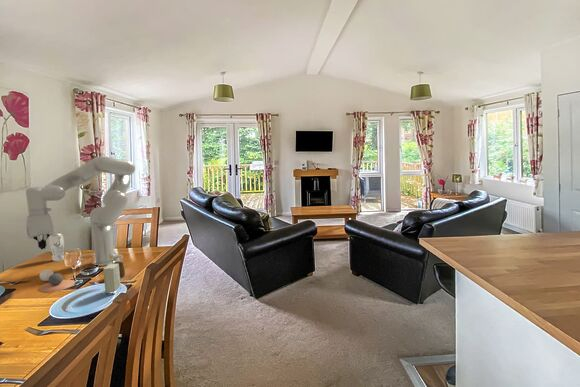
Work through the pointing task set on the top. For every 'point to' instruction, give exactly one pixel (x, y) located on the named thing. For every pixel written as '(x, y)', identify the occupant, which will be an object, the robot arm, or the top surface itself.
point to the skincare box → (111, 277)
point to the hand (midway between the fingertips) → (42, 248)
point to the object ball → (55, 279)
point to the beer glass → (57, 246)
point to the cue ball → (45, 275)
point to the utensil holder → (121, 267)
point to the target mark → (57, 286)
